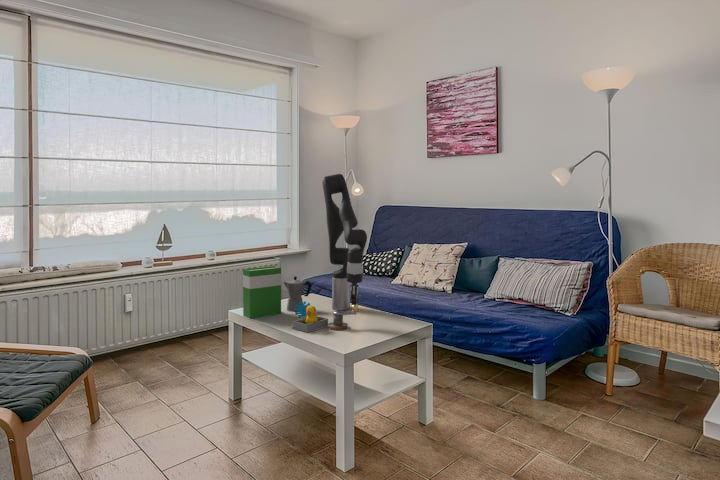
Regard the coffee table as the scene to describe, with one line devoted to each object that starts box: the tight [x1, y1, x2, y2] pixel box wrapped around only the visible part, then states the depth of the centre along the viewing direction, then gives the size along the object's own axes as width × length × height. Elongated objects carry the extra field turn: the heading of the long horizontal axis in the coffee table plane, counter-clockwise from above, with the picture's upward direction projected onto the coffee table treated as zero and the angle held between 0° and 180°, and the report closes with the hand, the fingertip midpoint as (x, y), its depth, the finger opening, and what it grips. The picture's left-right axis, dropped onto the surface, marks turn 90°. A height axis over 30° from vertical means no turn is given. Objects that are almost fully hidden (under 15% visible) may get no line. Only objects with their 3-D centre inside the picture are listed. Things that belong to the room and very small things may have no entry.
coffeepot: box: [282, 276, 313, 313], centre depth 257 cm, size 15×9×18 cm, turn 87°
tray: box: [292, 315, 329, 333], centre depth 224 cm, size 14×9×4 cm, turn 142°
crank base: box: [327, 315, 349, 331], centre depth 224 cm, size 9×9×6 cm
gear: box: [294, 301, 311, 319], centre depth 243 cm, size 11×6×10 cm
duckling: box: [305, 304, 318, 324], centre depth 223 cm, size 11×5×10 cm, turn 172°
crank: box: [332, 303, 359, 316], centre depth 224 cm, size 12×4×4 cm, turn 102°
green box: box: [242, 265, 282, 320], centre depth 245 cm, size 18×7×24 cm, turn 130°
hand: (353, 307), depth 229 cm, fingers closed
